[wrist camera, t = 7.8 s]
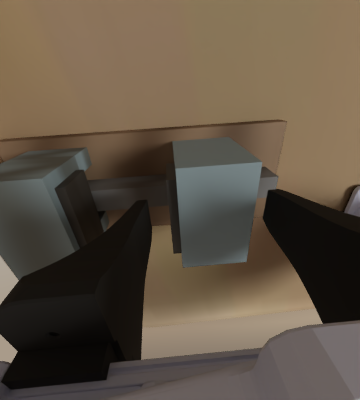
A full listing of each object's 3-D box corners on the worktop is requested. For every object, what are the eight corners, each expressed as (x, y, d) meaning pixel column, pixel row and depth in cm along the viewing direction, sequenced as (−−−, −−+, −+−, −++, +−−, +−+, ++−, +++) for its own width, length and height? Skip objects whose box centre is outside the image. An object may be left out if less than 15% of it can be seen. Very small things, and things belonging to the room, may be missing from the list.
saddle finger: (228, 137, 14) (262, 161, 9) (223, 213, 17) (246, 261, 12) (165, 141, 13) (164, 169, 9) (172, 217, 17) (174, 268, 12)
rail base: (279, 119, 14) (355, 138, 8) (262, 210, 18) (306, 264, 12) (3, 139, 14) (-111, 173, 8) (48, 228, 18) (-7, 292, 12)
